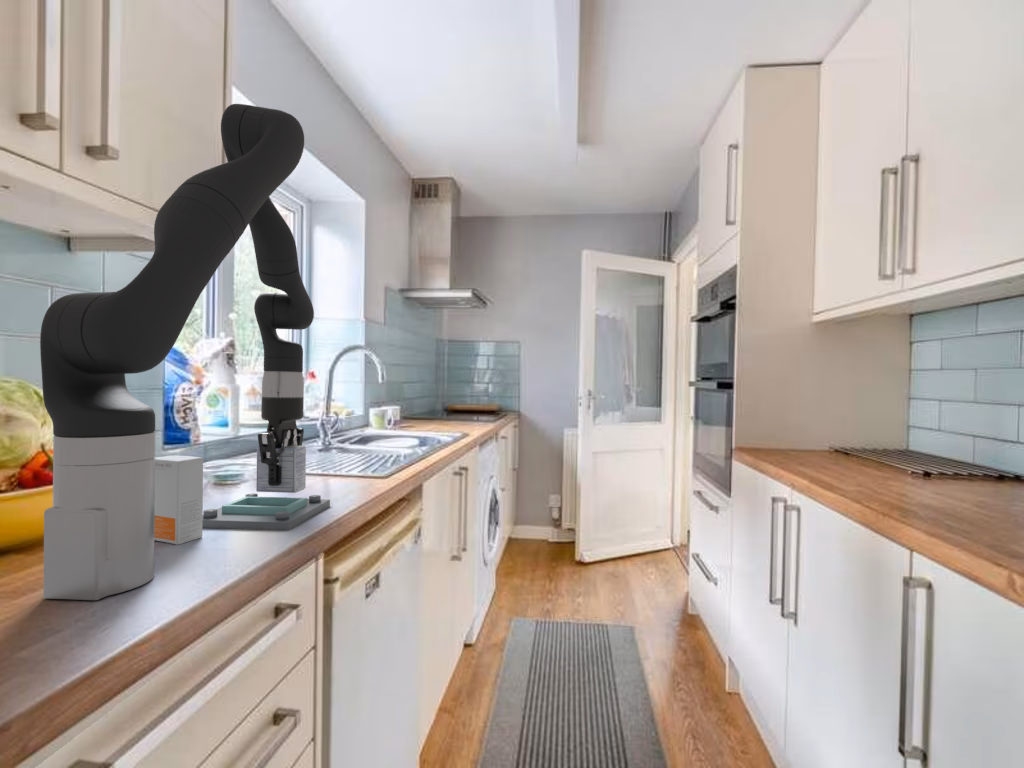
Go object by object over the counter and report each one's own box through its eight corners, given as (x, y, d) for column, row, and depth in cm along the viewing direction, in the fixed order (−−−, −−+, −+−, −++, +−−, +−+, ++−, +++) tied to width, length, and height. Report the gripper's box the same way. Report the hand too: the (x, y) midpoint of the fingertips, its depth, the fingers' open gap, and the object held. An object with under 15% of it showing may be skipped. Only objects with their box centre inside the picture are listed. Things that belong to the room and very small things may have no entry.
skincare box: (146, 540, 77) (147, 458, 77) (174, 532, 81) (175, 454, 81) (177, 545, 75) (177, 460, 74) (204, 537, 79) (204, 456, 78)
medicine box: (306, 489, 105) (306, 445, 105) (294, 493, 100) (295, 448, 100) (268, 488, 106) (269, 444, 106) (255, 492, 101) (256, 447, 101)
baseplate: (288, 530, 83) (288, 514, 83) (190, 527, 84) (190, 512, 84) (329, 505, 99) (330, 493, 99) (247, 503, 100) (247, 491, 100)
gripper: (283, 396, 96) (282, 490, 96) (317, 395, 110) (315, 477, 110) (243, 395, 96) (241, 489, 96) (282, 394, 110) (280, 476, 110)
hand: (281, 482), depth 103 cm, fingers closed on medicine box, 4 cm apart
